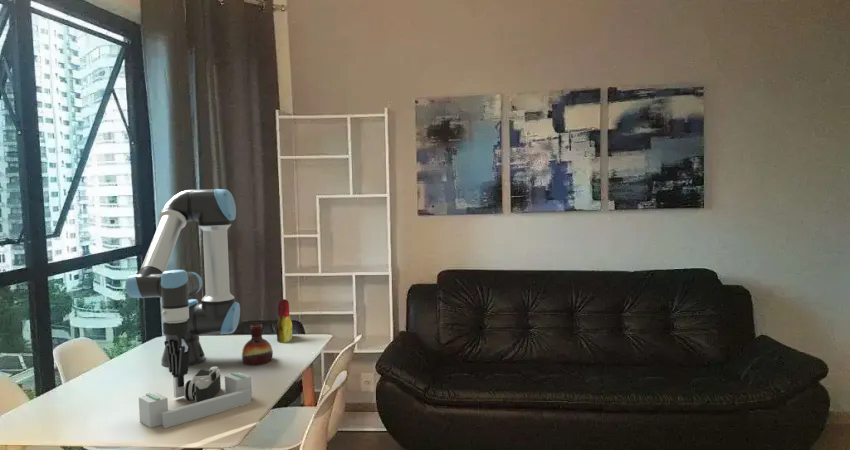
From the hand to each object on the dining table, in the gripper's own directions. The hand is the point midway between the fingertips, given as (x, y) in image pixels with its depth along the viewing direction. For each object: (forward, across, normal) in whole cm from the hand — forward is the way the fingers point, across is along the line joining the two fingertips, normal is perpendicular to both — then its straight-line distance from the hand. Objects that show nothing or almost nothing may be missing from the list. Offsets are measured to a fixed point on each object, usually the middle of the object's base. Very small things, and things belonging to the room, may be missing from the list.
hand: (179, 396), depth 187 cm
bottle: (+2, -34, +61) cm, 70 cm away
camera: (+2, +4, +6) cm, 7 cm away
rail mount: (+1, +13, 0) cm, 13 cm away
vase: (+2, -16, +37) cm, 40 cm away
